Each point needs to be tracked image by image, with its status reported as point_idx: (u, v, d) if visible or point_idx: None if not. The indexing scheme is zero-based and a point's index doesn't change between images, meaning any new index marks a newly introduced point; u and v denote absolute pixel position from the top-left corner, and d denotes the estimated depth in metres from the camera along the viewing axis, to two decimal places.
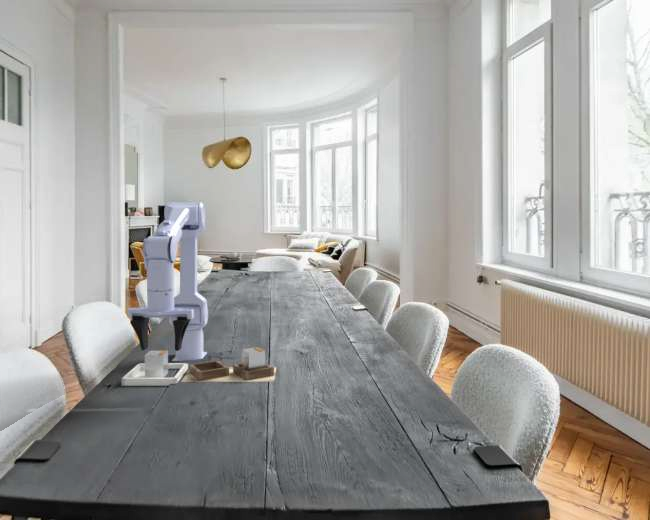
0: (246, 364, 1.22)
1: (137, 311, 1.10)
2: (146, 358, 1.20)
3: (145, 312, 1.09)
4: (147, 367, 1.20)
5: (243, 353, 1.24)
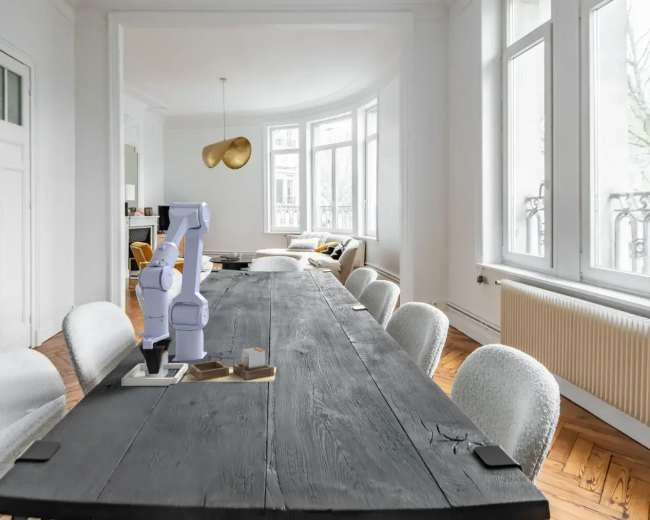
0: (246, 364, 1.22)
1: None
2: None
3: None
4: None
5: (243, 353, 1.24)
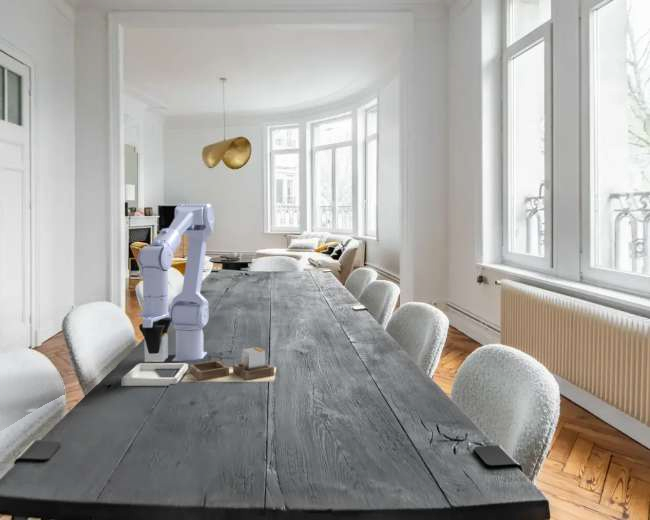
0: (246, 364, 1.22)
1: None
2: None
3: None
4: (147, 349, 1.19)
5: (243, 353, 1.24)
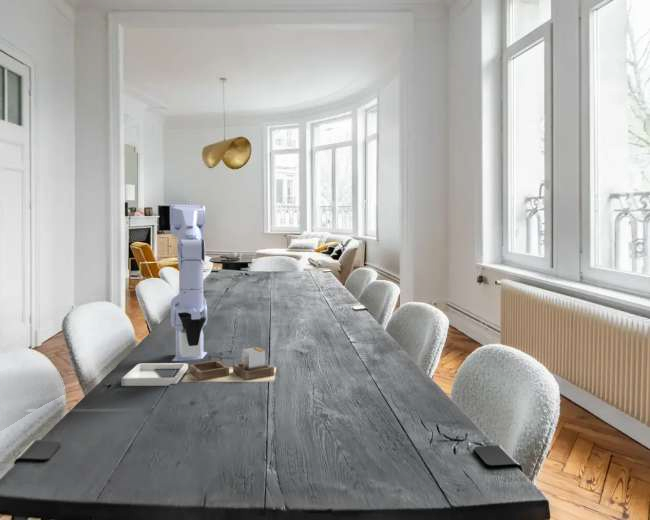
0: (246, 364, 1.22)
1: None
2: (183, 335, 1.20)
3: None
4: (184, 344, 1.20)
5: (243, 353, 1.24)
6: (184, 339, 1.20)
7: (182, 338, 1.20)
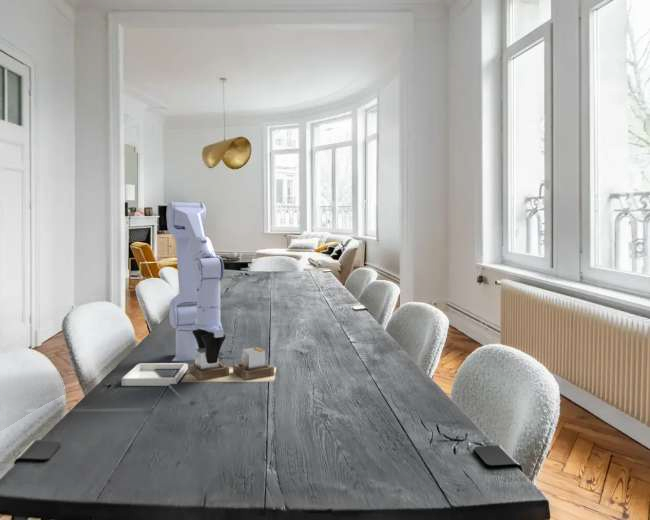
0: (246, 364, 1.22)
1: (196, 322, 1.26)
2: (202, 355, 1.20)
3: (196, 324, 1.24)
4: (203, 364, 1.21)
5: (243, 353, 1.24)
6: (203, 359, 1.20)
7: (201, 358, 1.20)
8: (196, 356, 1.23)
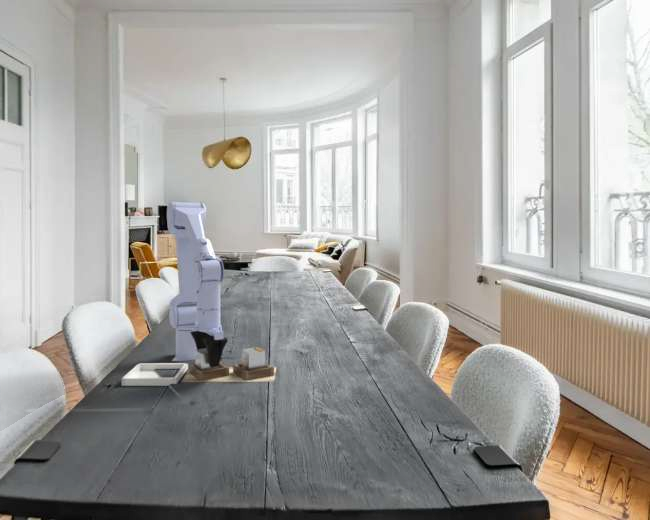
0: (246, 364, 1.22)
1: (196, 324, 1.26)
2: (203, 356, 1.20)
3: None
4: (203, 365, 1.21)
5: (243, 353, 1.24)
6: (204, 360, 1.21)
7: (202, 359, 1.20)
8: (197, 357, 1.23)
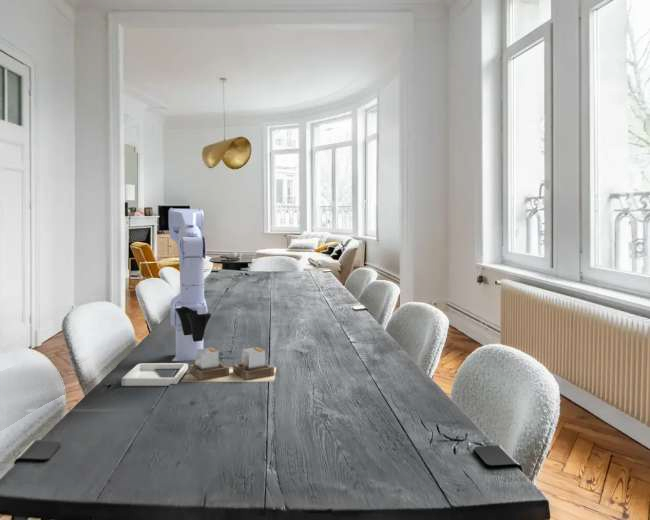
0: (246, 364, 1.22)
1: None
2: (203, 356, 1.20)
3: (180, 302, 1.26)
4: (203, 365, 1.21)
5: (243, 353, 1.24)
6: (204, 360, 1.21)
7: (202, 359, 1.20)
8: (197, 357, 1.23)
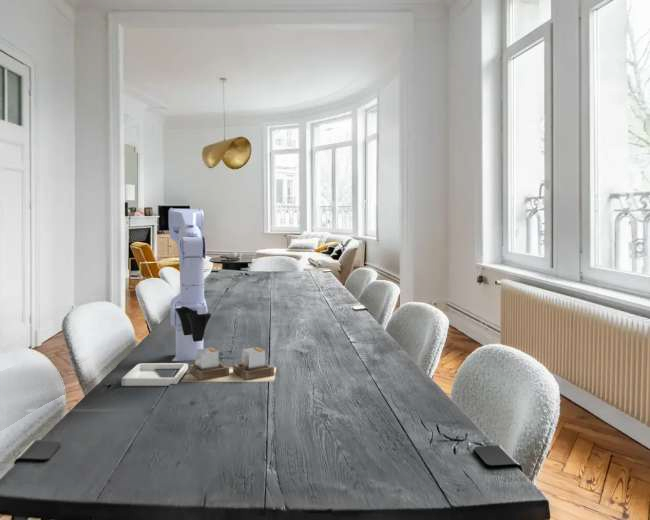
0: (246, 364, 1.22)
1: None
2: (203, 356, 1.20)
3: (180, 302, 1.26)
4: (203, 365, 1.21)
5: (243, 353, 1.24)
6: (204, 360, 1.21)
7: (202, 359, 1.20)
8: (197, 357, 1.23)
